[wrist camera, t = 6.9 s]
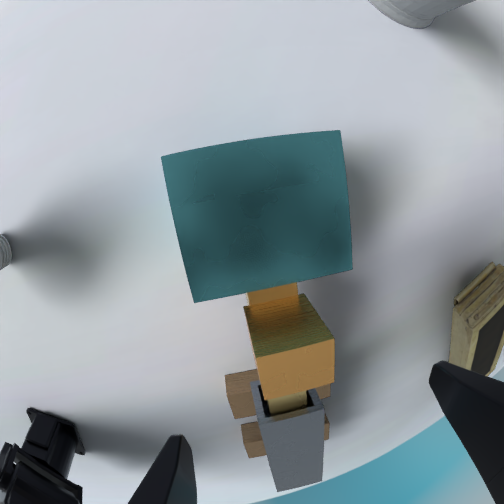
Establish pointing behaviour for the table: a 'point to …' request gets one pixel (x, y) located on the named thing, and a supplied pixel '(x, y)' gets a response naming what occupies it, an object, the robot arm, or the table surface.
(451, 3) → the glass holder
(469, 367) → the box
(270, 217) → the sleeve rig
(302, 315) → the yellow sliding bolt
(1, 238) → the light bulb
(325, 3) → the table surface
